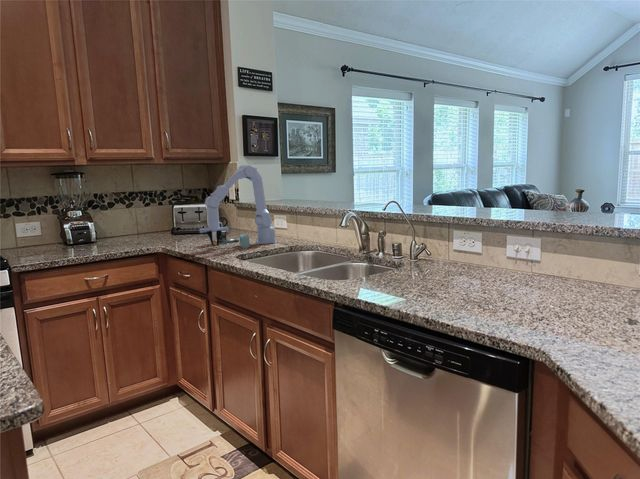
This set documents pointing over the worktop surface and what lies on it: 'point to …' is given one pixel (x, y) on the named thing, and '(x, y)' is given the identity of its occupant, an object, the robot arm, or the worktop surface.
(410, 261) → the worktop surface
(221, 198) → the robot arm
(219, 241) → the t-handle rod
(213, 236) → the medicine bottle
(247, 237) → the block
